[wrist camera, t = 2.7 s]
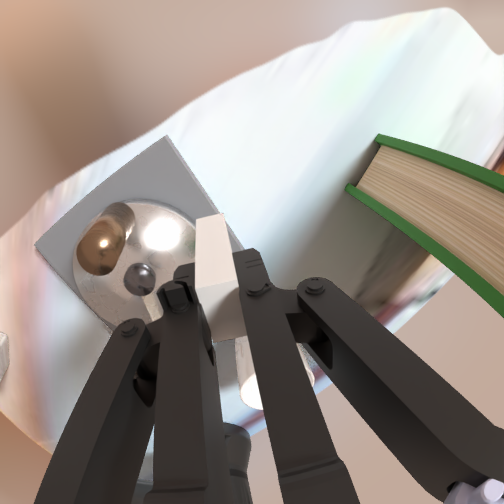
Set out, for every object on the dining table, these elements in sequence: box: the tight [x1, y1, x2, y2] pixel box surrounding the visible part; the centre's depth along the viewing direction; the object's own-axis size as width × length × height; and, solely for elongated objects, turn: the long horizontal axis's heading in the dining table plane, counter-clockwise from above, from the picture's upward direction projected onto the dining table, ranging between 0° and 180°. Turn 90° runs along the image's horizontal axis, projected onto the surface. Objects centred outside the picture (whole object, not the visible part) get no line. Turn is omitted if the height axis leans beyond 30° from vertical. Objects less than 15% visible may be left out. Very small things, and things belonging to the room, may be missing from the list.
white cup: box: [235, 336, 314, 410], centre depth 34 cm, size 8×8×10 cm
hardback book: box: [344, 134, 504, 318], centre depth 23 cm, size 18×7×24 cm, turn 60°
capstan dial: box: [73, 198, 196, 326], centre depth 26 cm, size 16×14×9 cm
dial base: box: [34, 135, 245, 331], centre depth 30 cm, size 18×18×2 cm
